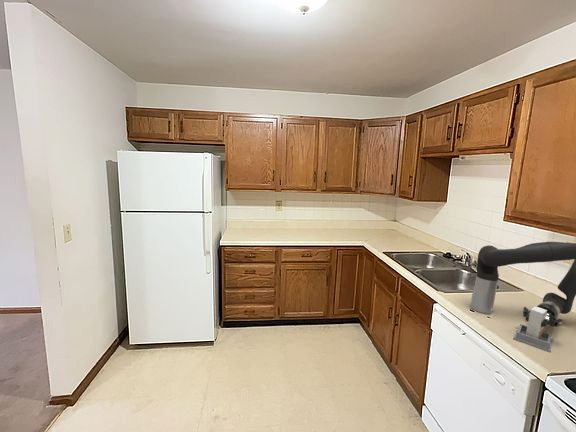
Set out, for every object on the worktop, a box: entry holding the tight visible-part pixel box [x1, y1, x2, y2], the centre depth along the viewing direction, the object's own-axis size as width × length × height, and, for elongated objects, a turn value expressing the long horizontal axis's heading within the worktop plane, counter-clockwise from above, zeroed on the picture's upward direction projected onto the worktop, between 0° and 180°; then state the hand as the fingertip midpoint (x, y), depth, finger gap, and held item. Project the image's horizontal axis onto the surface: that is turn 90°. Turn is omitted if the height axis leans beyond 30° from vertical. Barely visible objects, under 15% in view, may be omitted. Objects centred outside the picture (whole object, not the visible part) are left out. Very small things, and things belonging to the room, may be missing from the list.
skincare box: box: [526, 305, 547, 339], centre depth 127 cm, size 6×4×12 cm
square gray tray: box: [513, 323, 553, 353], centre depth 128 cm, size 12×12×3 cm
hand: (534, 322), depth 125 cm, fingers closed on skincare box, 4 cm apart
